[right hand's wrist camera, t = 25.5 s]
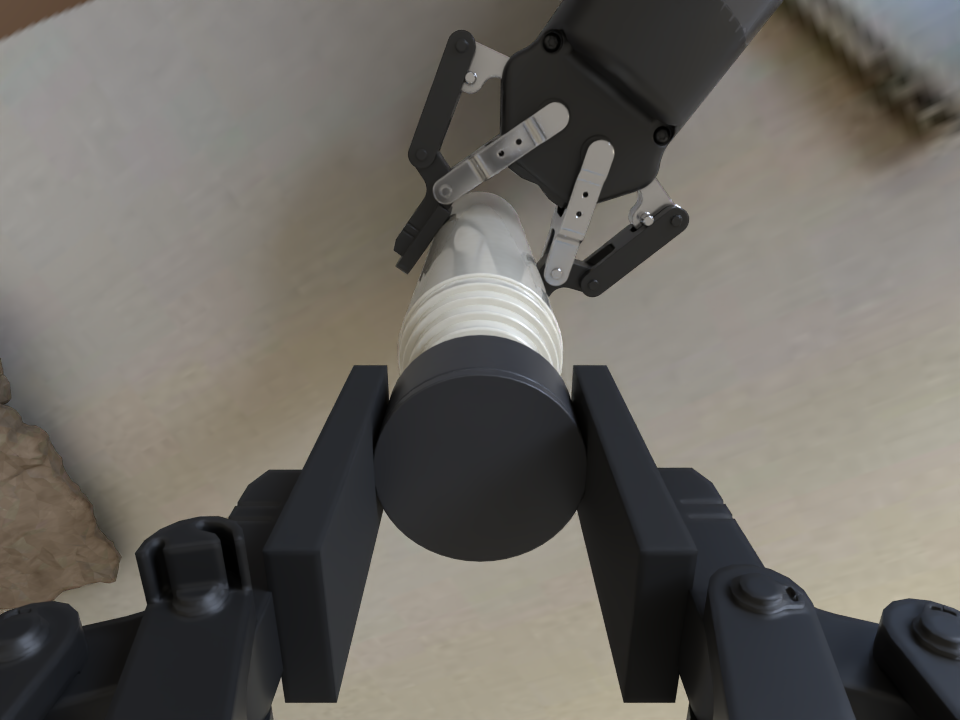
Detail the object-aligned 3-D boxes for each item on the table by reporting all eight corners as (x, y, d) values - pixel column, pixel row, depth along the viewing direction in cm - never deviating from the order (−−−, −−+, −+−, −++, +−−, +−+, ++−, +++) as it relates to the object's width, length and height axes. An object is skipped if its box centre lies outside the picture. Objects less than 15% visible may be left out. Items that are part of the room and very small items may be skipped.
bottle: (478, 172, 36) (475, 293, 12) (539, 232, 37) (645, 448, 13) (420, 236, 37) (316, 457, 13) (481, 292, 38) (484, 585, 15)
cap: (362, 360, 14) (341, 404, 12) (550, 312, 14) (563, 350, 12) (418, 515, 16) (408, 580, 14) (589, 477, 15) (607, 538, 13)
